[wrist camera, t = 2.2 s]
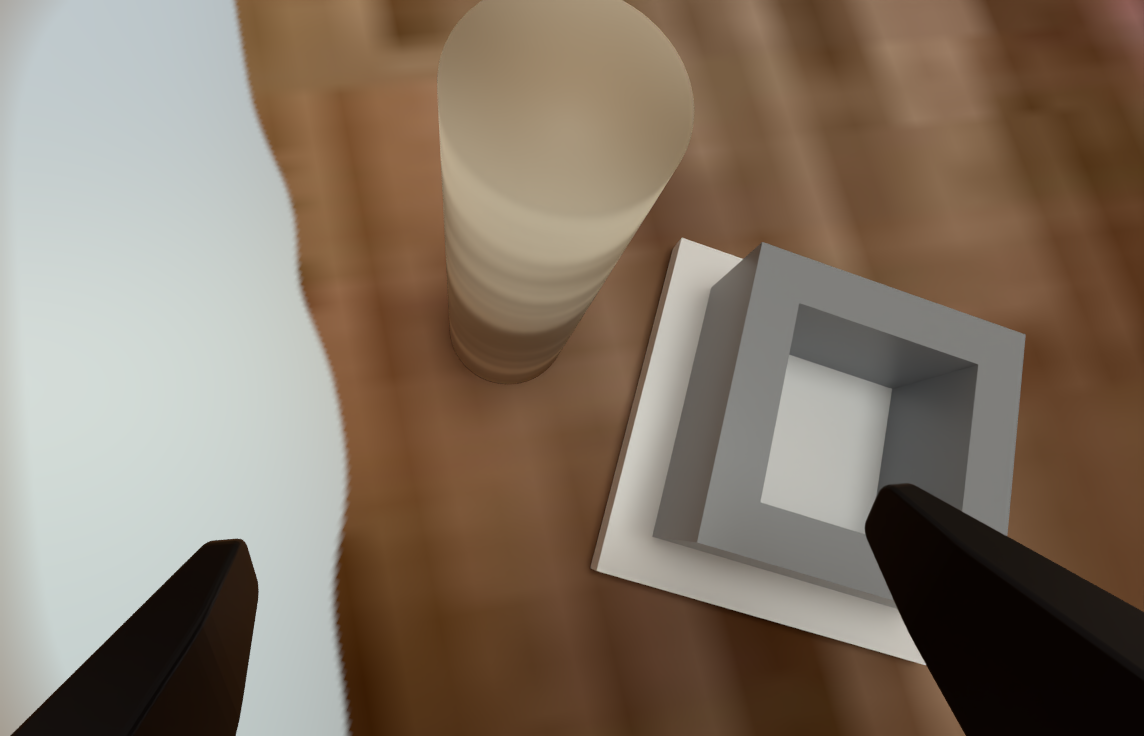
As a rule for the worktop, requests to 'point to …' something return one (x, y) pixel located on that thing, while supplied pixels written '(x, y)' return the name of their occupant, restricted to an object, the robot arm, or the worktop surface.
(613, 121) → the peg
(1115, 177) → the worktop surface
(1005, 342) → the socket
